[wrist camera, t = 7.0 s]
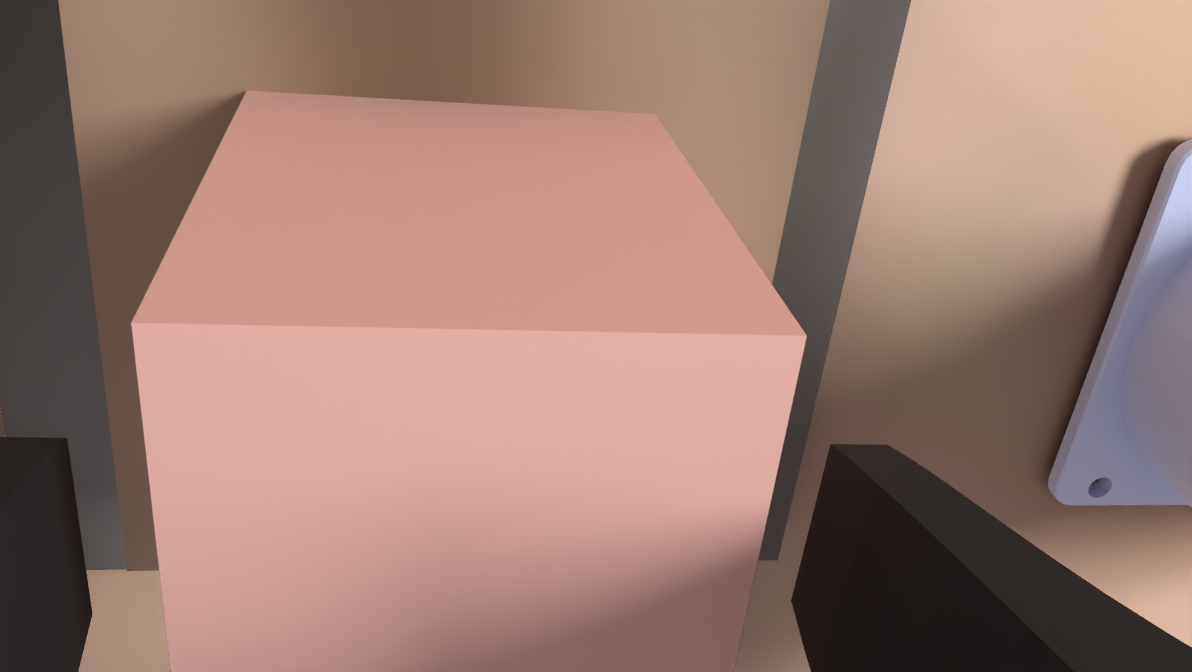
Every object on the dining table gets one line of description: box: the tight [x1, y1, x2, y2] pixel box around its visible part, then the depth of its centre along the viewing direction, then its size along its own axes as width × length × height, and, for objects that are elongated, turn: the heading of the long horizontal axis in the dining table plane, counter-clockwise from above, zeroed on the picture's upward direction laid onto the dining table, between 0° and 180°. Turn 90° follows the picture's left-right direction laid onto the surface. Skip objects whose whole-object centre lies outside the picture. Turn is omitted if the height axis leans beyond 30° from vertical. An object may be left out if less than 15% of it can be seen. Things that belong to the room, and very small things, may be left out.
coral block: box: [131, 91, 807, 672], centre depth 12 cm, size 5×5×6 cm
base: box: [0, 0, 911, 571], centre depth 16 cm, size 14×14×4 cm
